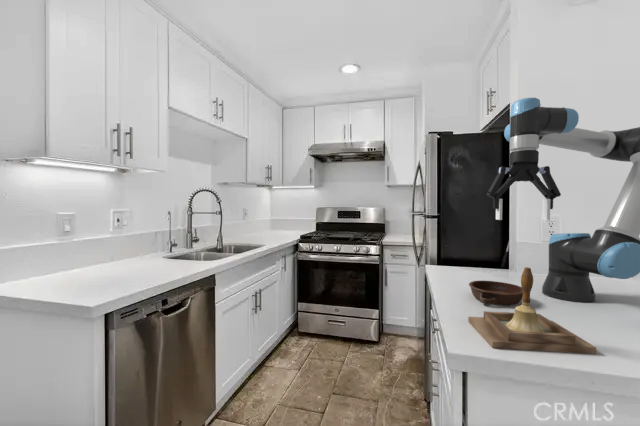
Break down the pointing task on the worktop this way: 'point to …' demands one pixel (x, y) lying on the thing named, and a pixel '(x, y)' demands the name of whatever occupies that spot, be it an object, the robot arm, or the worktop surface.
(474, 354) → the worktop surface
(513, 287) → the dish
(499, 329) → the walnut stand
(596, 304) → the worktop surface
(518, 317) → the hand bell
